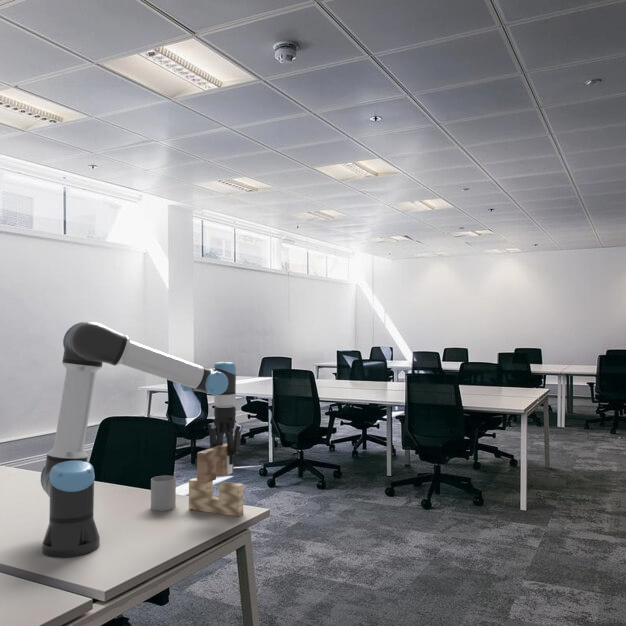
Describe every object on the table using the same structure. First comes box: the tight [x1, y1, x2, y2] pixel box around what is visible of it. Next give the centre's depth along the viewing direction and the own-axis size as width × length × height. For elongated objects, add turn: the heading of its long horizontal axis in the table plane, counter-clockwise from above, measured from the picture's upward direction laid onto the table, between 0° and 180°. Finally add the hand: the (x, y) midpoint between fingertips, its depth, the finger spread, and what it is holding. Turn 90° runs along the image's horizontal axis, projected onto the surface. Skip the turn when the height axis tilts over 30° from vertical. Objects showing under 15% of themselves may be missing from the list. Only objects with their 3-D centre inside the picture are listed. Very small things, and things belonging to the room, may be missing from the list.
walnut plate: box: [196, 442, 235, 484], centre depth 202 cm, size 18×3×10 cm, turn 156°
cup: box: [150, 475, 177, 511], centre depth 207 cm, size 8×8×10 cm
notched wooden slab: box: [188, 477, 244, 517], centre depth 202 cm, size 20×3×10 cm, turn 66°
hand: (224, 472), depth 207 cm, fingers closed on walnut plate, 3 cm apart
